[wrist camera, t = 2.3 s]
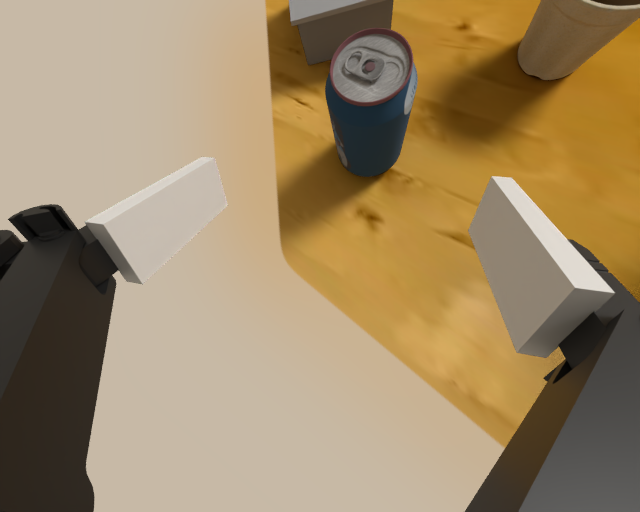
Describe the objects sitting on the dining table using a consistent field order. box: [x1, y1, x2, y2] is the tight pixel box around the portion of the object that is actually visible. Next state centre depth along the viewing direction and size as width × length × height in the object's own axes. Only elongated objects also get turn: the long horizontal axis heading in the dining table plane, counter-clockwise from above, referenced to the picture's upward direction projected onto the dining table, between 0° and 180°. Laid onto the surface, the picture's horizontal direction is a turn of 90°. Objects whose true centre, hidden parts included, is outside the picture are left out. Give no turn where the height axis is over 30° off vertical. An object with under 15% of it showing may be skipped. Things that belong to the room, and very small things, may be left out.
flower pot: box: [518, 0, 640, 80], centre depth 23 cm, size 9×9×9 cm
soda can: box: [325, 28, 417, 177], centre depth 23 cm, size 7×7×12 cm
